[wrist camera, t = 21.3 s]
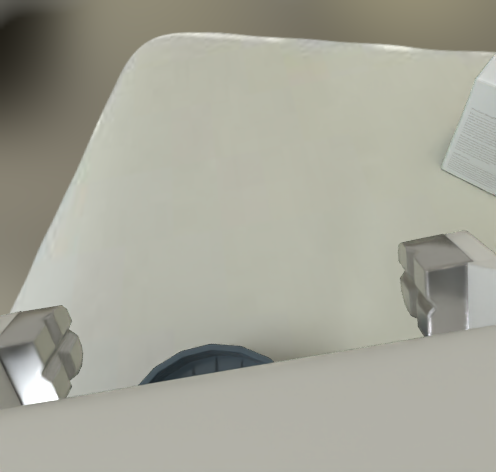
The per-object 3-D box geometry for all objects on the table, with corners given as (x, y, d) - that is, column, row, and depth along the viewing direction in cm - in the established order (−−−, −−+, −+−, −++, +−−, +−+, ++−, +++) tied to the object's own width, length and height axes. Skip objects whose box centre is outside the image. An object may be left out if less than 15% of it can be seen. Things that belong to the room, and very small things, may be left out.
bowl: (277, 608, 32) (270, 634, 28) (102, 505, 37) (71, 513, 32) (348, 399, 37) (351, 392, 33) (186, 330, 42) (169, 316, 37)
